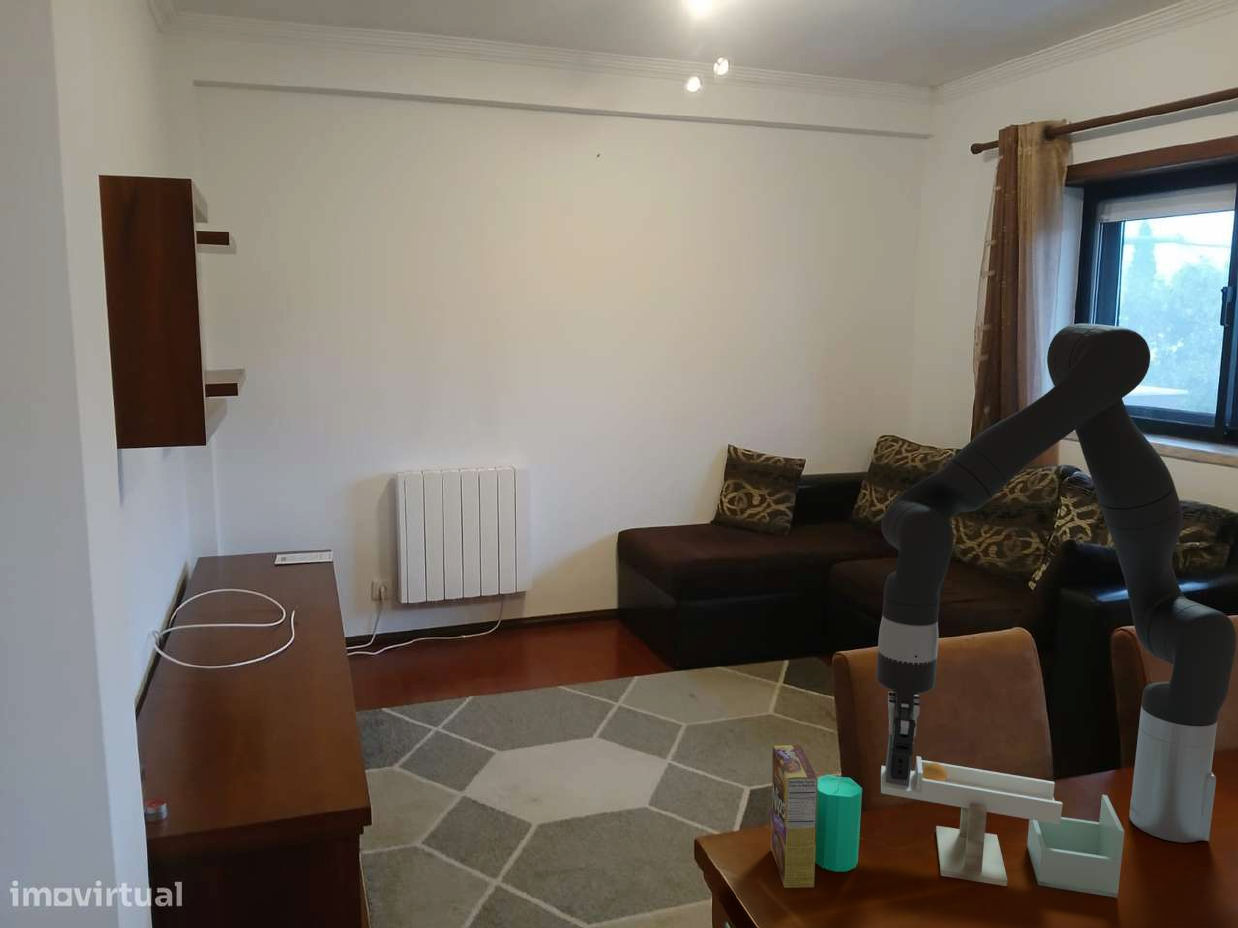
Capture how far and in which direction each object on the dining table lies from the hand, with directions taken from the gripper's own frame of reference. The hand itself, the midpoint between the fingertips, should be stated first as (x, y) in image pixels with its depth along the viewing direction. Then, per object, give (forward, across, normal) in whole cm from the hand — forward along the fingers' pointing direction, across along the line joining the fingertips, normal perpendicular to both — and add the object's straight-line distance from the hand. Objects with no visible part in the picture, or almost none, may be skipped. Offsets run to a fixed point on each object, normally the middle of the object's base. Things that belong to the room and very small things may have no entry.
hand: (898, 770), depth 125 cm
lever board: (+3, 0, -9) cm, 9 cm away
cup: (+11, 0, -22) cm, 25 cm away
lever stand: (+11, 0, -10) cm, 15 cm away
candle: (+11, -6, +8) cm, 15 cm away
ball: (0, 0, -5) cm, 5 cm away
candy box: (+11, -10, +13) cm, 20 cm away
